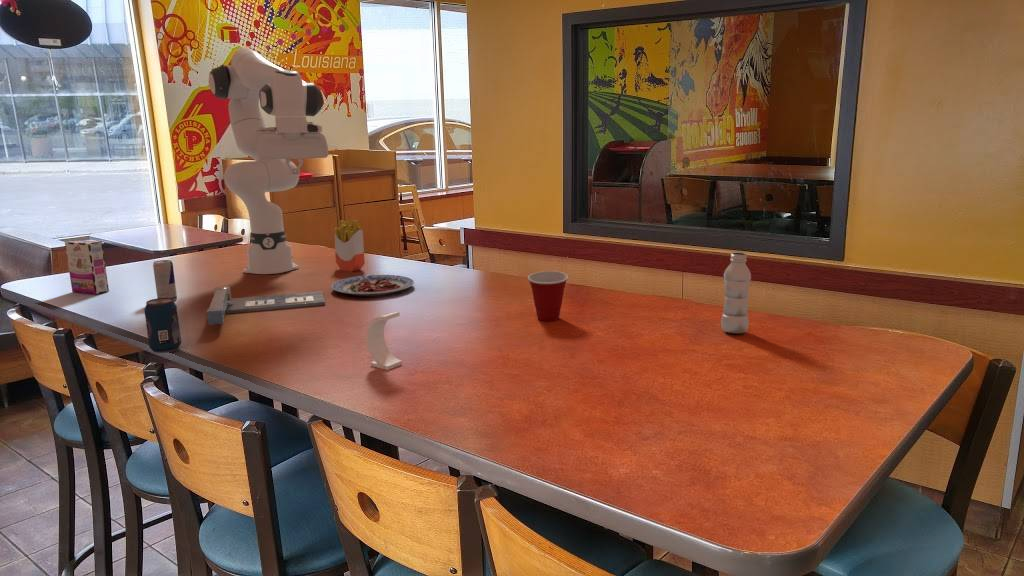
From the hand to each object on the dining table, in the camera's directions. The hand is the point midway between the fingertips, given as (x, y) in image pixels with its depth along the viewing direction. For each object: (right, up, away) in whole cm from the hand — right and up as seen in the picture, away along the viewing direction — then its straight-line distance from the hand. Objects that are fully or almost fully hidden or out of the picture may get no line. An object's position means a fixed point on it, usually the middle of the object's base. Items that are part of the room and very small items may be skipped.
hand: (295, 174), depth 216 cm
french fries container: (+7, -28, +42) cm, 51 cm away
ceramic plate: (+21, -35, +13) cm, 43 cm away
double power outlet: (-6, -39, -4) cm, 40 cm away
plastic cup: (+75, -43, -22) cm, 89 cm away
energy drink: (-40, -38, +2) cm, 55 cm away
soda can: (-18, -49, -44) cm, 68 cm away
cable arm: (-15, -40, -19) cm, 47 cm away
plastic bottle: (+121, -46, -36) cm, 134 cm away
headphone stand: (+37, -51, -56) cm, 85 cm away
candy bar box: (-70, -36, +14) cm, 80 cm away
